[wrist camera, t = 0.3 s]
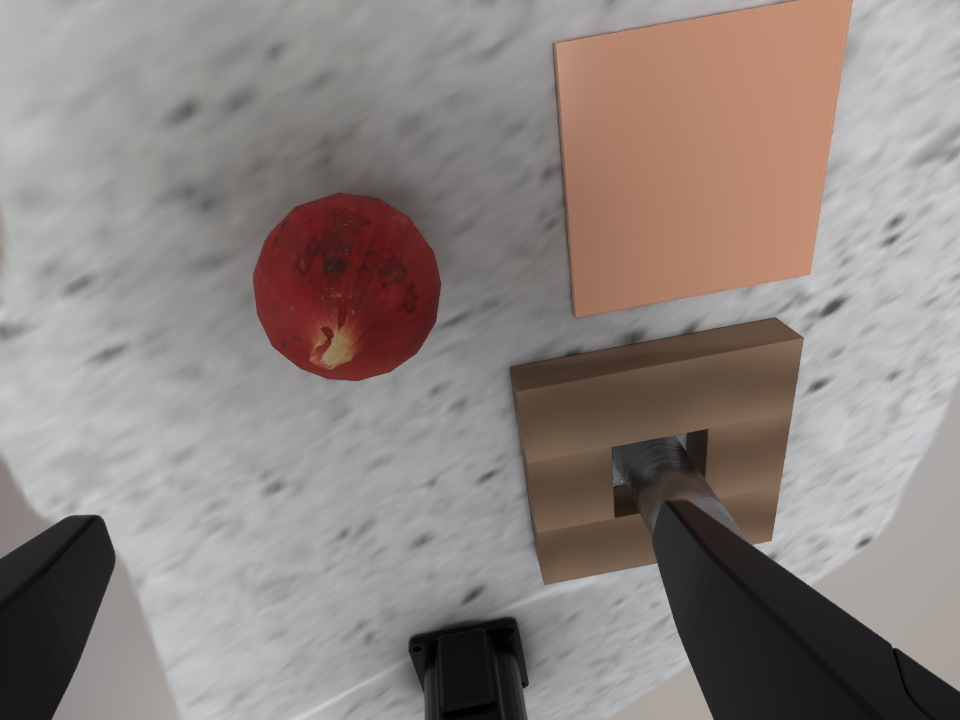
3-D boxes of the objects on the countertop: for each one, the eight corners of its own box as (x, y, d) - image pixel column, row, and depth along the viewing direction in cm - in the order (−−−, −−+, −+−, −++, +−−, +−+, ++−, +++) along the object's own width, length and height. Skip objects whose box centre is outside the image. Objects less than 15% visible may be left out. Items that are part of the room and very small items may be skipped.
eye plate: (751, 513, 30) (771, 540, 28) (536, 554, 30) (544, 584, 28) (775, 317, 24) (803, 337, 23) (509, 367, 24) (516, 391, 22)
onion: (279, 164, 19) (202, 225, 12) (443, 184, 20) (459, 252, 13) (284, 316, 22) (222, 437, 15) (428, 328, 23) (435, 447, 16)
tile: (804, 271, 23) (810, 274, 23) (573, 313, 23) (576, 318, 23) (845, -9, 18) (854, -10, 18) (553, 43, 18) (556, 42, 18)
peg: (674, 466, 28) (776, 626, 20) (612, 478, 28) (690, 643, 20) (676, 416, 26) (786, 568, 19) (611, 428, 26) (694, 585, 18)
